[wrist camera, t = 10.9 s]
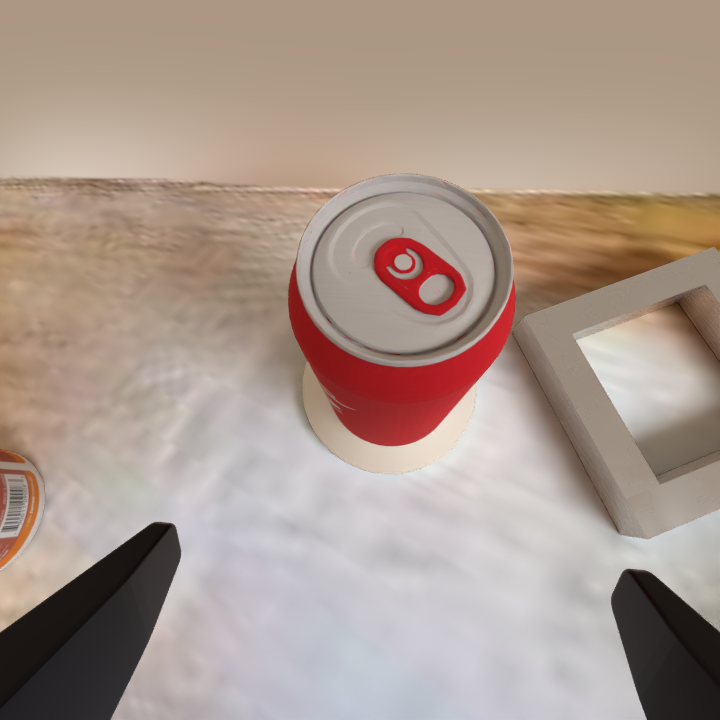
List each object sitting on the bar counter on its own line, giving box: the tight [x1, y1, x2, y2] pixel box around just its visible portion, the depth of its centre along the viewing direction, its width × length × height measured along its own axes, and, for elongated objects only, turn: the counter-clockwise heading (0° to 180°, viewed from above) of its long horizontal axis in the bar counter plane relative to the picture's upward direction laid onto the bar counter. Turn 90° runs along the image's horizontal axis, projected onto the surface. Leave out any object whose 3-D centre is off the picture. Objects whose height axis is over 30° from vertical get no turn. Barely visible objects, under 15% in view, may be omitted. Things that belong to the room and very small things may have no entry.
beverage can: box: [288, 174, 515, 446], centre depth 15 cm, size 6×6×12 cm
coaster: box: [302, 361, 476, 474], centre depth 21 cm, size 9×9×1 cm
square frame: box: [512, 247, 720, 539], centre depth 20 cm, size 11×11×2 cm
